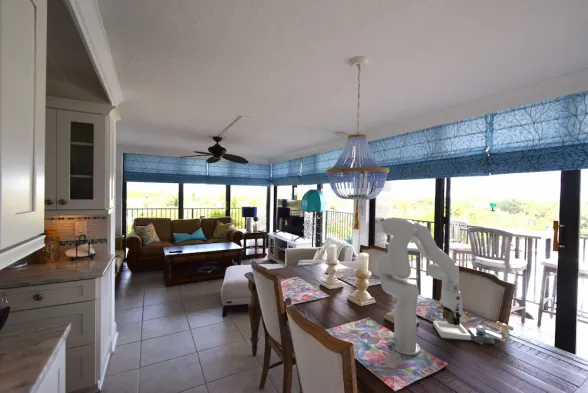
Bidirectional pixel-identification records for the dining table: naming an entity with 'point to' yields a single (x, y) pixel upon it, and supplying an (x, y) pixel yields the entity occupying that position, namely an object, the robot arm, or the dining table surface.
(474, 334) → the crank base
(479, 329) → the crank
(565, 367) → the dining table surface
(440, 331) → the tray
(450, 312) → the cup
